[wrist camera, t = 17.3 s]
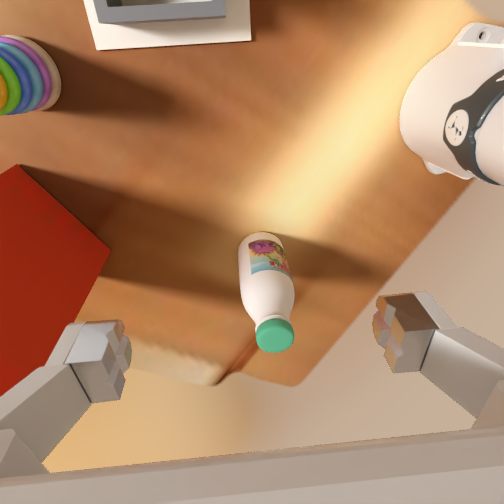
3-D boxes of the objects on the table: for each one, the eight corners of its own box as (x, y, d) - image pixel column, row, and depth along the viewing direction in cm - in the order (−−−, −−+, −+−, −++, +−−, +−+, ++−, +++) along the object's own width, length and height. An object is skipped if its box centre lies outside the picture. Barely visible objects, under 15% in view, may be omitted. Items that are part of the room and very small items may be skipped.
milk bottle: (264, 275, 59) (280, 370, 42) (228, 255, 56) (230, 348, 39) (292, 245, 56) (321, 334, 39) (256, 222, 53) (271, 307, 36)
